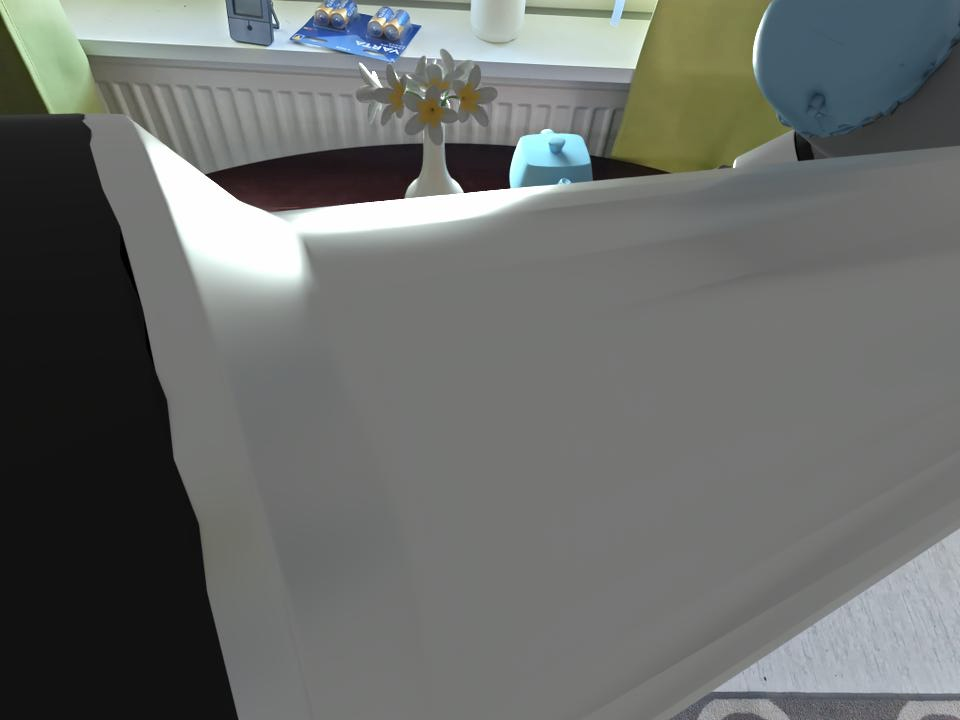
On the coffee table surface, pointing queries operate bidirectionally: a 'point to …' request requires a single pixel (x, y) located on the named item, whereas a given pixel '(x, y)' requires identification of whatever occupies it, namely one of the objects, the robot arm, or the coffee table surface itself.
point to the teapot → (550, 160)
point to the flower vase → (429, 112)
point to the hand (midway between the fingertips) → (515, 314)
